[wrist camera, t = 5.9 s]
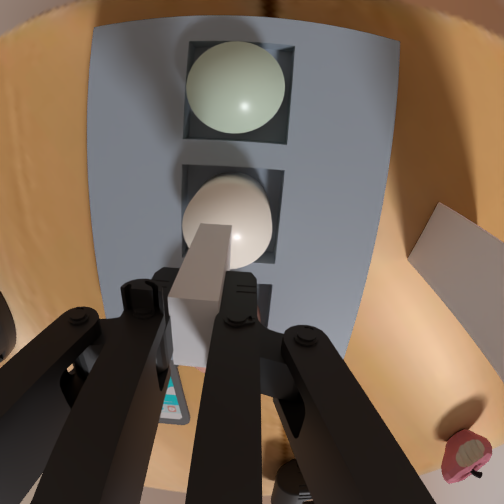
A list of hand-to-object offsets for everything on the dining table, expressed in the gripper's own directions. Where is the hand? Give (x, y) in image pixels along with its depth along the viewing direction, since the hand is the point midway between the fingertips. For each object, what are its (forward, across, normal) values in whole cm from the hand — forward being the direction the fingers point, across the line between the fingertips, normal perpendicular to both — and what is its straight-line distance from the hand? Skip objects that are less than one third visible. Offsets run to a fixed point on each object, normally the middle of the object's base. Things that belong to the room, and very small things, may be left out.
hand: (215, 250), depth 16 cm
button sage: (+7, 0, +8) cm, 11 cm away
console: (+10, 0, 0) cm, 10 cm away
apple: (+9, +39, -36) cm, 54 cm away
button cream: (+7, 0, 0) cm, 7 cm away
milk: (+10, +19, -2) cm, 22 cm away
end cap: (+10, +11, -41) cm, 44 cm away
